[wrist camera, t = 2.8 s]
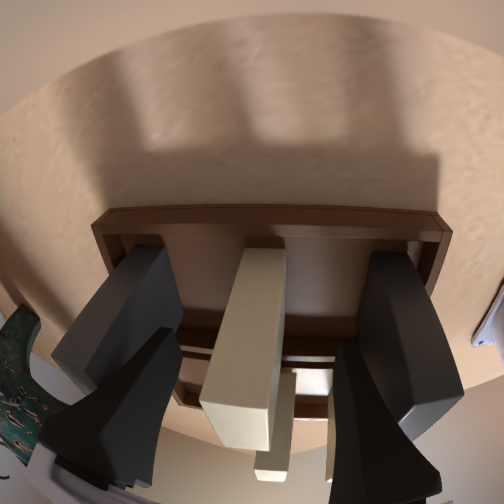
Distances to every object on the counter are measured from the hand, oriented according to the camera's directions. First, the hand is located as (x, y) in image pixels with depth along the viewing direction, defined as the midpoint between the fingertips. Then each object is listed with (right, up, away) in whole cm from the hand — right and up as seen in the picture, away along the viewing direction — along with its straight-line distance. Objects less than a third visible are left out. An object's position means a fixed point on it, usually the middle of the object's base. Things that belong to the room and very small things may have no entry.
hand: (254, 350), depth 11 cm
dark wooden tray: (+1, +3, +4) cm, 5 cm away
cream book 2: (+2, -6, +9) cm, 11 cm away
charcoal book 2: (+7, +2, +2) cm, 8 cm away
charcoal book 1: (-5, +2, +4) cm, 7 cm away
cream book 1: (+1, +2, +3) cm, 4 cm away
